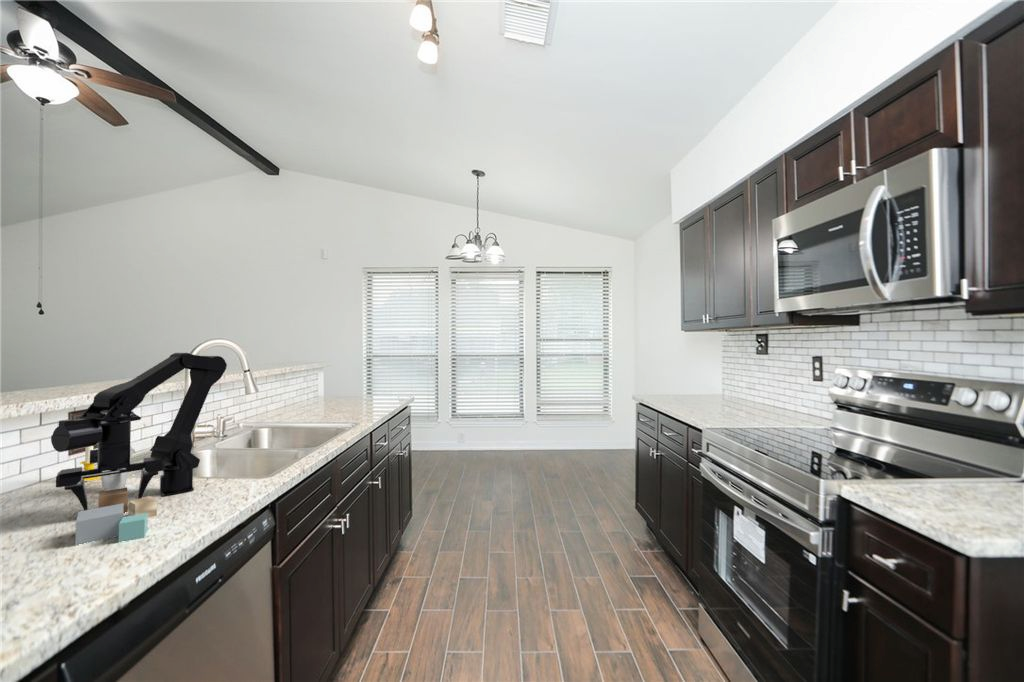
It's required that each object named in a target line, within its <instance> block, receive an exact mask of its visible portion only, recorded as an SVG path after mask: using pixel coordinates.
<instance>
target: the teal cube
mask: <svg viewBox="0 0 1024 682" xmlns="http://www.w3.org/2000/svg"><path fill="white" fill-rule="evenodd" d="M148 519H149V518H148V513H144V514H138V515H132V516H127V515H126V516H123V518H122V520H121V521H120V523H119V536H118V543H119V542H120V543H123V542H122V541H125V542H130V541H129V540H131V541H134V540H140V539H144V538H145V537H146V535H147V532H148V528H149V527H148Z"/></svg>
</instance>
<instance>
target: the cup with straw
mask: <svg viewBox="0 0 1024 682" xmlns="http://www.w3.org/2000/svg"><path fill="white" fill-rule="evenodd" d="M134 454H136V449H135V448H133V447H132V445H130V462H131V459H132V455H134ZM123 469H124V468H123ZM125 469H126V468H125ZM118 470H121V469H118ZM107 471H108V470H106V471H102V472H107ZM110 471H111V470H110ZM128 475H129V472H125V473H118V474H112V475H105V476H101V478H100V481H101V487H102V492H103V491H109V490H115V489H120V488H126V484H127V480H128Z"/></svg>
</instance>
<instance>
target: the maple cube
mask: <svg viewBox="0 0 1024 682" xmlns="http://www.w3.org/2000/svg"><path fill="white" fill-rule="evenodd" d="M144 513H148V519H150V518H152V517H156V516H158V499H157V498H156V497H153V496H151V495H148V496H145V497H144V496H143V497H142V498H140V499H138V498H137V499H132V500H129V501H128V513H127V514H128V516H132V515H138V514H144ZM149 517H150V518H149Z"/></svg>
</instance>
